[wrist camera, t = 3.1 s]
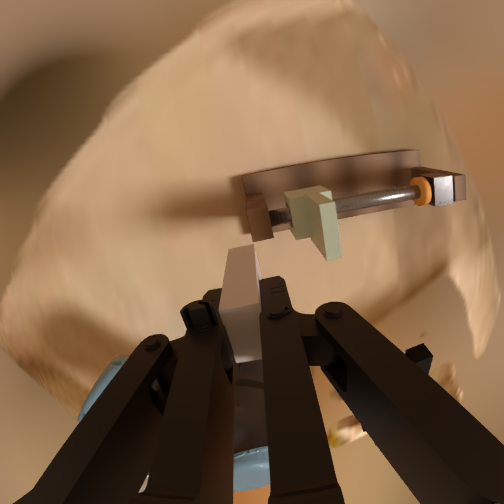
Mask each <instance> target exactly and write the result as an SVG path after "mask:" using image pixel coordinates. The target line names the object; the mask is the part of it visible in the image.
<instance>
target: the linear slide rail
mask: <svg viewBox="0 0 504 504" xmlns="http://www.w3.org/2000/svg"><path fill="white" fill-rule="evenodd" d="M429 173H441V174H446V175H451V176H452V181H453V201H455V202H456V201H462V200H466V179H465V175H463V174H458V173H453V172H448V171H443V170H437V169H432V168H426V167H421V159H420V151H419V150H405V151H394V152H384V153H375V154H367V155H358V156H351V157H343V158H336V159H330V160H323V161H317V162H311V163H305V164H299V165H293V166H288V167H282V168H277V169H272V170H267V171H262V172H257V173H252V174H248V175H243V176H242V180H243V184H244V189H245V193H246V213H247V217H248V222H249V226H250V231H251V235H252V240H253V242H256V241H261V240H266V239H271V238H274V236H273V232H278V231H283V230H288V229H290V227H289V223H288V224H283V225H279V226H274V227H272V226H271V221H270V216H269V211H270V210H275V209H280V208H285V207H286V205H285V200H284V195H283V192H288V191H293V190H298V189H304V188H309V187H314V186H322V187H324V188H326V189H329V190H331V194H332V198H338V197H343V196H349V195H355V194H360V193H366V192H372V191H378V190H384V189H391V188H397V187H403V186H410V182H411V180H412V179H413V178H415V177H419V176H418V175H420V174H429ZM410 205H415V203H414V201H413V200H408V201H403V202H397V203H392V204H386V205H381V206H375V207H370V208H365V209H359V210H354V211H349V212H344V213H338V214H337V219H342V218H347V217H353V216H358V215H363V214H368V213H373V212H378V211H384V210H389V209H394V208H399V207H405V206H410Z"/></svg>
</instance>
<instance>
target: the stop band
mask: <svg viewBox="0 0 504 504" xmlns="http://www.w3.org/2000/svg"><path fill="white" fill-rule="evenodd" d="M410 185H418V186H419V188H420V190H421V197H420V198H419V199H414V200H413V201H414V203H415V204H416V205H418V206H421V205H427V204H429V203H430V201H431V196H432V192H431V187H430V184H429V182H428V181H427V179H426V178H424V177H415V178H413V179H412V180H411V182H410Z"/></svg>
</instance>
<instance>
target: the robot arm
mask: <svg viewBox="0 0 504 504" xmlns="http://www.w3.org/2000/svg"><path fill="white" fill-rule="evenodd" d="M180 313H181V316H182V318H183V321H184V323H185V326H186V328H187V330H186V334H185V336H183V337H181V338H179V339H176V340H173V341H169V339H168V337H167V336H166V335H163V334H155V335H152V336H149V337H147V338H146V339H144V340H143V341H142V342H141V343H140V344H139V345H138V346H137V348H136V349H135V350H134V351H133V353H132V354H131V355H130V357H129V356H119V357H117V358H115V359H114V360H113V361H112V362H111V363H110V364H109V365H108V366H107V367H106V369H105V370H104V371H103V373H102V374H101V375H100V377H99V378H98V380H97V381H96V383H95V384H94V386H93V388H92V389H91V391H90V393H89V394H88V396H87V398H86V400H85V402H84V404H83V406H82V409H81V411H80V413H79V415H78V422H79V424H78V425H77V427H76V428H75V429H74V431H73V432H72V433H71V435H70V436H69V438H68V439H67V440H66V442H65V443H64V445H63V446H62V447H61V449H60V450H59V452H58V453H57V454H56V456H55V457H54V459H53V460H52V462H51V463H50V465H49V466H48V468H47V469H46V471H45V472H44V473H43V475H42V476H41V478H40V479H39V481H38V482H37V484H36V485H35V487H34V488H33V489H32V490H31V491H30V492H28V493H27V494H26V495H24V496H23V497H22V498H20V499H19V500H17V501H16V502H15V503H13V504H233V491H245V490H251V489H256V488H260V487H264V486H266V485H269V484H270V485H271V492H270V496H269V499H268V504H345V503H344V498H343V494H342V491H341V488H340V486H339V484H338V482H337V478H336V474H335V471H334V466H333V461H332V457H331V452H330V448H329V444H328V440H327V435H326V431H325V427H324V423H323V419H322V415H321V411H320V407H319V403H318V399H317V395H316V391H315V387H314V383H313V379H312V375H311V371H310V367H309V366H320V367H321V370H322V371H323V373H324V374H325V375H326V377H327V378H328V380H329V381H330V382H331V384H332V385H333V386H334V388H335V389H336V391H337V392H338V393H339V395H340V396H341V398H342V399H343V400H344V402H345V403H346V404H347V406H348V407H349V408H350V410H351V411H352V413H353V414H354V415H355V417H356V418H357V419H358V421H359V422H360V424H361V425H362V426H363V428H364V429H365V430H366V432H367V433H368V434H369V436H370V437H371V438H372V440H373V441H374V443H375V444H376V445H377V447H378V448H379V449H380V451H381V452H382V453H383V455H384V456H385V457H386V459H387V460H388V461H389V463H390V464H391V465H392V467H393V468H394V469H395V471H396V472H397V473H398V475H399V476H400V477H401V479H402V480H403V481H404V483H405V484H406V485H407V486H408V488H409V489H410V490H411V492H412V493H413V495H414V496H415V497H416V498H417V500H418V501H419V502H420V504H504V445H503V444H502V443H501V442H500V441H499V440H498V439H497V438H496V437H495V436H494V435H493V434H491V433H490V431H488V430H487V429H486V428H485V427H484V426H483V425H482V424H481V423H480V422H479V421H478V420H477V419H476V418H475V417H474V416H472V415H471V414H470V413H469V412H468V411H467V410H466V409H465V408H464V407H463V406H462V405H461V404H460V403H459V402H457V401H456V400H455V399H454V398H453V397H452V396H451V395H450V394H449V393H448V392H447V391H445V390H444V389H443V388H442V387H441V386H440V385H439V384H438V383H437V382H436V381H434V380H433V379H432V378H431V377H430V376H429V375H428V374H427V373H426V372H424V371H423V370H422V369H421V368H420V367H419V366H418V365H417V364H415V363H414V362H413V361H412V360H411V359H410V358H409V357H408V356H406V355H405V354H404V353H403V352H402V351H400V349H398V348H397V347H396V346H395V345H394V344H393V343H391V342H390V341H389V340H388V339H387V338H386V337H385V336H384V335H382V334H381V333H380V332H379V331H378V330H377V329H376V328H374V327H373V326H372V325H371V324H370V323H369V322H367V321H366V320H365V319H364V318H363V317H362V316H360V315H359V314H358V313H357V312H356V311H355V310H353V309H352V308H351V307H350V306H349V305H347V304H345V303H342V302H329V303H325V304H323V305H321V306H319V307H318V308H317V309H316V311H315V314H302V313H299V312H296V311H295V310H294V309H293V308H292V305H291V301H290V298H289V294H288V291H287V287H286V283H285V280H284V279H283V278H281V277H280V276H275V277H270V278H266V279H262V277H261V273H260V268H259V264H258V259H257V255H256V251H255V246H254V244H252V245H247V246H242V247H238V248H233V249H229V251H228V256H227V262H226V268H225V274H224V280H223V286H222V288H219V289H213V290H209V291H208V292H207V293H206V294H205V295H204V296H203V299H202V300H197V301H194V302H191V303H189V304H187V305H186V306H184V307H183V308H182V309H181V311H180Z"/></svg>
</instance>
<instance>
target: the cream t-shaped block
mask: <svg viewBox="0 0 504 504" xmlns="http://www.w3.org/2000/svg"><path fill="white" fill-rule="evenodd" d="M283 195H284V200H285V205H286V207H289V208H290V213H291V219H292V223H289V227H290V230H291V232H292V233H293V235H294V237H295V239H296V240H299V239H304V238H309V237H311V240H312V241H313V243H314V244H315V245H316V247H317V248H318V250H319V251H320V252H321V254H322V255H323V257H324V258H325V259H326V261H330V260H335V259H339V258H342V257H341V247H340V238H339V229H338V221H337V213H336V206H335V201H333V200H332V194H331V190H329V189H326V188H324V187H322V186H314V187H309V188H304V189H298V190H293V191H288V192H283Z"/></svg>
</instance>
